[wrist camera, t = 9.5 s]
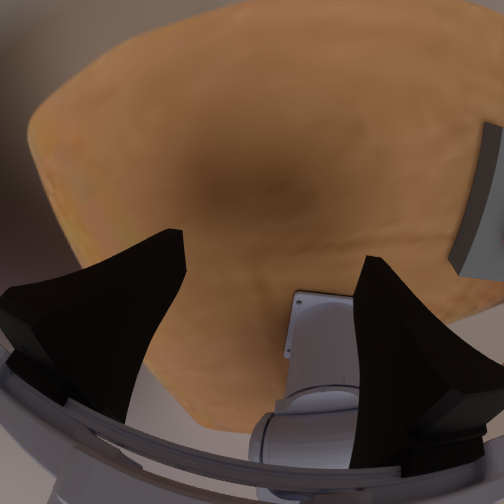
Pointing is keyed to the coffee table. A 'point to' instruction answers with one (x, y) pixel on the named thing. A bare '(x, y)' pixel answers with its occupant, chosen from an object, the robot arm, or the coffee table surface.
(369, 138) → the coffee table surface
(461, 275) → the charcoal flat pad
